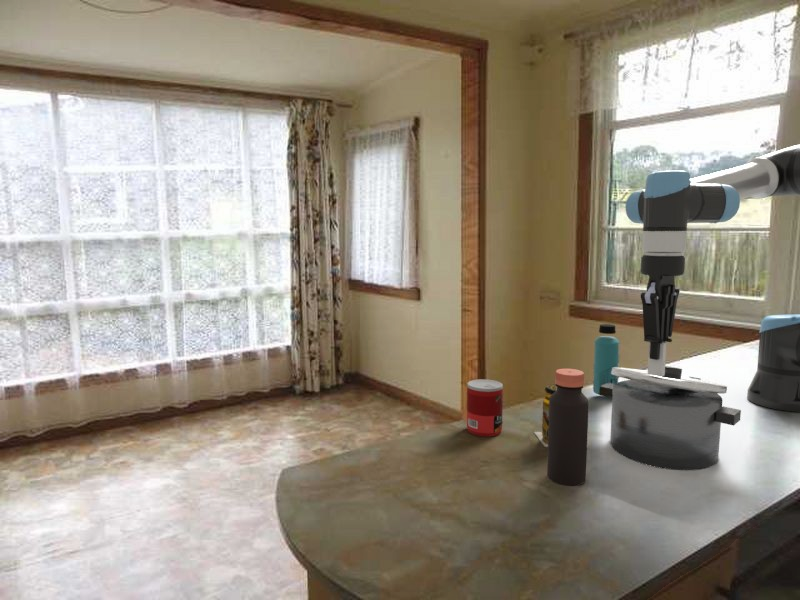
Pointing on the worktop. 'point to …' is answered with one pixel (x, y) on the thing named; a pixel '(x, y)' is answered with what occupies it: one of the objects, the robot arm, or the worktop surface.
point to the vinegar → (568, 429)
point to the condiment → (546, 415)
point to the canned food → (484, 407)
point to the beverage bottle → (605, 357)
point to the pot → (666, 424)
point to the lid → (670, 379)
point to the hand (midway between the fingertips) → (656, 374)
